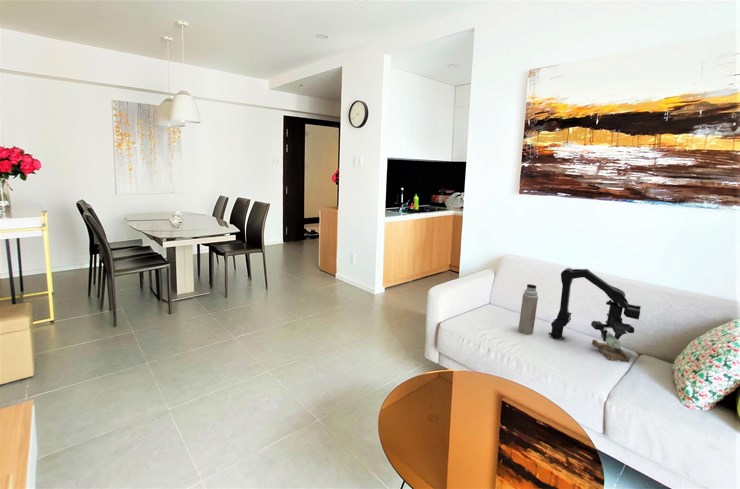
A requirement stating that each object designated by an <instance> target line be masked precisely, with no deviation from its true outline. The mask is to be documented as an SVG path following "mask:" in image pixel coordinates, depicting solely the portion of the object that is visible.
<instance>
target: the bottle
mask: <svg viewBox="0 0 740 489" xmlns="http://www.w3.org/2000/svg"><path fill="white" fill-rule="evenodd" d="M600 338H601V339H602V340H603V338H602V334H601V333H600ZM604 343H607V344H608V345H609V346H610V347H612V348H617V349H618V348H620V349H621V341H620V340H619V339H617V338H615V335H614V334H612V333H611V332H610V331H608V332H607V334H606V340H605V342H604Z"/></svg>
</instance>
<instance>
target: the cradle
mask: <svg viewBox="0 0 740 489" xmlns="http://www.w3.org/2000/svg"><path fill="white" fill-rule="evenodd" d="M591 344H592V345H593V346H594V347H595V348H596V347H597V348H598V349H599V350H600V351H601V353H602V354H603V355H604V356H605V357H606V358H607V359H613V360H612V361H615V360H620V361H619V362H627V363H629V362H630V356H629V355H628V354H627V353H626V352H625V351H623V350H622V349H621V347H620V348H618V349H617V348H612V347H610V346H609V345H608V344H607V343H606V342H598V341H597V339H592V342H591ZM597 348H596V349H597ZM598 349H597V350H598ZM599 350H598V351H599ZM600 351H599V352H600ZM602 354H601V355H602ZM603 355H602V356H603ZM604 356H603V357H604ZM605 357H604V358H605ZM606 358H605V359H606ZM607 359H606V360H607Z"/></svg>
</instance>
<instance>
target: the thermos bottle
mask: <svg viewBox="0 0 740 489" xmlns="http://www.w3.org/2000/svg"><path fill="white" fill-rule="evenodd" d="M538 300H539V295H538V290H537V286H536V285H535V284H526V289H524V292H523V293H522V299H521V307H520V315H519V320H518V321H519V322H518V330H519V331H520V332H519V331H518V330H517V331H518V332H519V333H521V332H522V333H521V334H523V333H525V334H524V335H533V334H534V328H535V322H536V315H537V306H538ZM532 333H533V334H532Z"/></svg>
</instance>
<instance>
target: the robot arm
mask: <svg viewBox="0 0 740 489" xmlns="http://www.w3.org/2000/svg"><path fill="white" fill-rule="evenodd" d="M582 278H583V279H584V278H585V279H586V280H587V281H589V282H590V283H591V284H593V285H594V286H596V287H597V288H598V289H600V290H601V291H603V292H604V293H605V294H606V295H607V297H608V298H609V300H607V301H606V302H605V305H608V306H609V309H608V313H606V316H607V320H605V323H602V322H601V321H599V320H593V321H592V322H591V324H590V326H591V327H592V328H593V329H594V330H596V331H599V332H600V335H601V334H602V338H603V339H602V338H601V339H602V340H603V343H606V342H605V340H606V334H607V332H609V331H608V330H607V329H612V331H613V333H614V337H615V338H617V339H618V340H619V339H620V338H621V337H623V335H626V334H634V333H635V327H634V326H632V325H631V324H630V323H624V322H623V318H622V314H623V315H624V316H625V318H629V319H634V320H638V321H639V319H640V315H641V308H642V307H641V306H640V305H635V304H630V303H629V301H628V300H627V298H626V293H625V292H624V291H623V290H621V289H620V288H618V287H615V286H612V285H610V284H609V283H607V282H606V281H604V279H602V278H601V277H599V276H597V275H596V274H595V273H593V272H592V271H591V270H590V269H588V268H579V269H578V268H576V269H575V268H574V269H573V268H571V267H567V268H565V269H563V271H562V272H561V274H560V280H561V285H562V287H561V297H560V304H559V311H558V314H557V317H556V318H555V319H553V320H552V322H551V323H550V325H551V326H550V327H551V332H548V334H549V336H550V335H551V336H550V337H551V338H552V337H553V338H552V339H556V338H563V339H562V340H565V337H564V336H563V334H564V333H563V332H564V327H566V326H567V325H568V324H569V323H570V321H571V320H572V318H571V316H572V312H570V310H569V305H570V296H571V289H572V288H571V287H572V286H571V285H572V283H573V281H574V279H582Z"/></svg>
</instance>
